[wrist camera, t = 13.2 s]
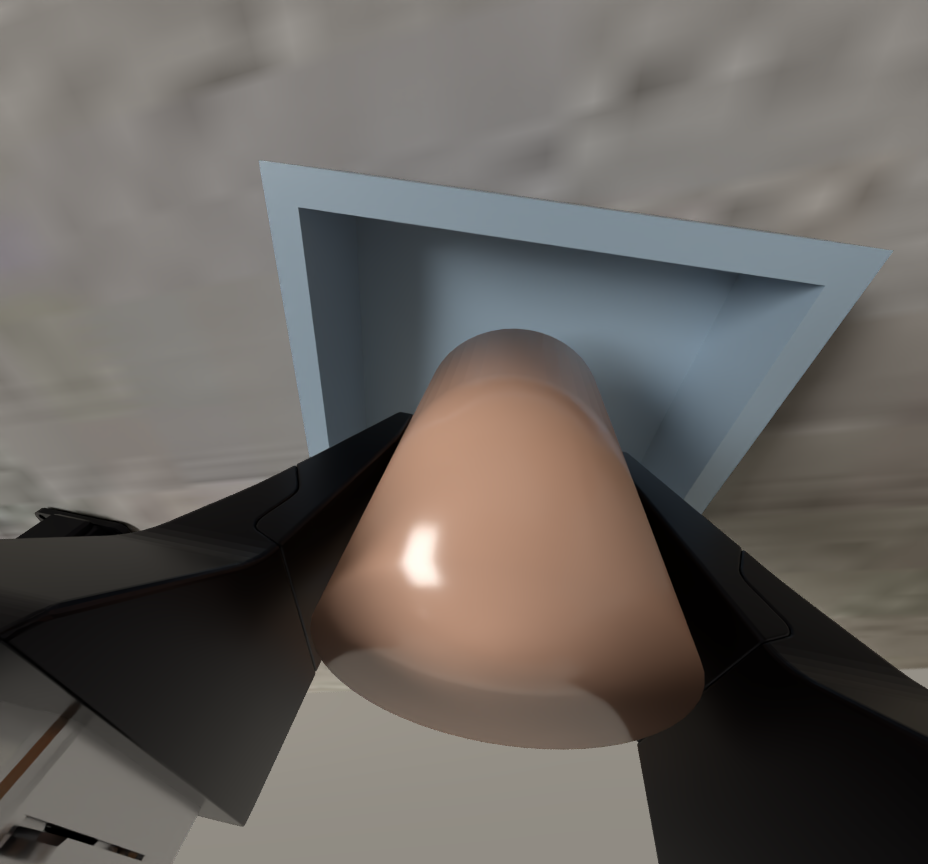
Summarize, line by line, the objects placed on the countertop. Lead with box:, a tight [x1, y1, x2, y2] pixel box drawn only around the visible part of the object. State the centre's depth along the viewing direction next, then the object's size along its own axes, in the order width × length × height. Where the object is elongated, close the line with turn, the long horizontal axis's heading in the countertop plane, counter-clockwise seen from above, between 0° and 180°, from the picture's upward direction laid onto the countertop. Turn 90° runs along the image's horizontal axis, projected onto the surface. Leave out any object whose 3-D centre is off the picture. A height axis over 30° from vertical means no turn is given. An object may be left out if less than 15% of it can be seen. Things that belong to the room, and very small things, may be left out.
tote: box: [259, 160, 893, 514], centre depth 15 cm, size 22×14×4 cm, turn 173°
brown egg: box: [310, 329, 704, 749], centre depth 8 cm, size 5×5×7 cm
